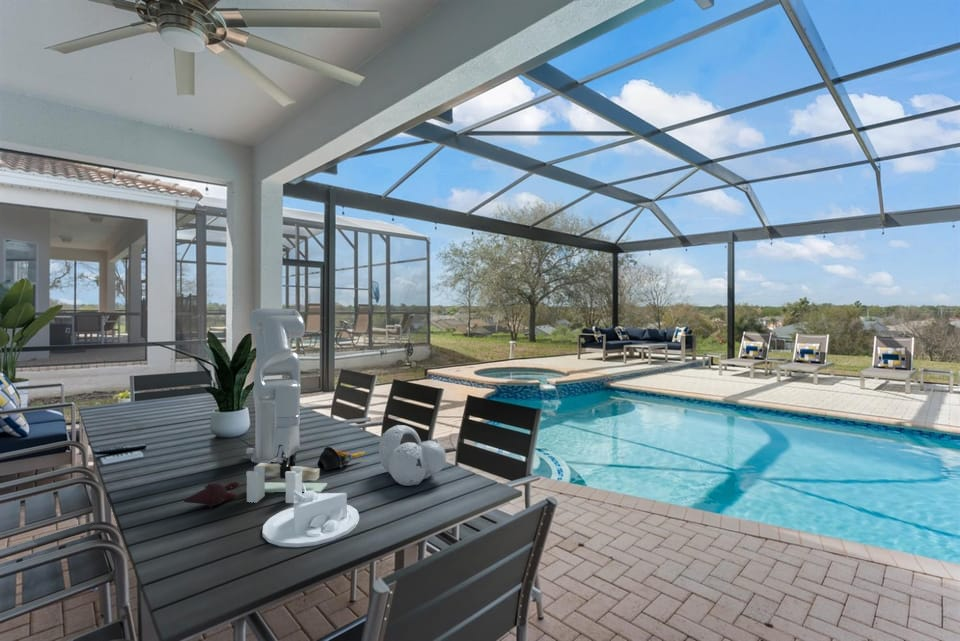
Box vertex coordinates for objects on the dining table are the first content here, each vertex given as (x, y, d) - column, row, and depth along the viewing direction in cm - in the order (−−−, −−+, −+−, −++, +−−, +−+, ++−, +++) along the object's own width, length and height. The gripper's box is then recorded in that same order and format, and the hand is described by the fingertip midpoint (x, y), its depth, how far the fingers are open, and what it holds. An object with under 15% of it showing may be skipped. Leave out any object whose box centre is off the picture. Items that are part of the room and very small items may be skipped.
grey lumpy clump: (399, 476, 142) (411, 410, 153) (360, 484, 159) (374, 423, 170) (450, 491, 153) (458, 428, 164) (408, 497, 169) (419, 439, 181)
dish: (260, 557, 109) (260, 510, 109) (264, 514, 132) (264, 475, 132) (365, 537, 119) (365, 494, 119) (351, 500, 142) (351, 464, 142)
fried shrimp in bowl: (308, 458, 168) (344, 432, 183) (323, 483, 169) (358, 455, 184) (321, 453, 163) (357, 427, 177) (336, 479, 164) (371, 451, 178)
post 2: (285, 503, 139) (285, 472, 139) (293, 496, 145) (292, 466, 144) (295, 503, 139) (295, 472, 139) (302, 496, 145) (302, 466, 144)
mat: (246, 492, 148) (246, 490, 148) (257, 484, 155) (257, 482, 155) (319, 493, 147) (319, 491, 147) (327, 484, 154) (327, 483, 154)
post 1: (246, 502, 140) (246, 471, 139) (255, 495, 145) (255, 466, 145) (256, 502, 139) (256, 472, 139) (264, 495, 145) (264, 466, 145)
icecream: (190, 496, 129) (244, 485, 140) (181, 483, 133) (235, 474, 145) (185, 518, 129) (240, 506, 141) (177, 505, 134) (230, 494, 146)
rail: (255, 474, 150) (256, 465, 149) (259, 471, 153) (260, 462, 152) (315, 480, 149) (316, 471, 149) (319, 477, 152) (319, 468, 152)
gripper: (287, 415, 159) (287, 467, 159) (264, 426, 143) (264, 485, 143) (308, 415, 159) (308, 468, 159) (287, 426, 142) (288, 485, 143)
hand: (287, 475), depth 151 cm, fingers closed on rail, 3 cm apart
